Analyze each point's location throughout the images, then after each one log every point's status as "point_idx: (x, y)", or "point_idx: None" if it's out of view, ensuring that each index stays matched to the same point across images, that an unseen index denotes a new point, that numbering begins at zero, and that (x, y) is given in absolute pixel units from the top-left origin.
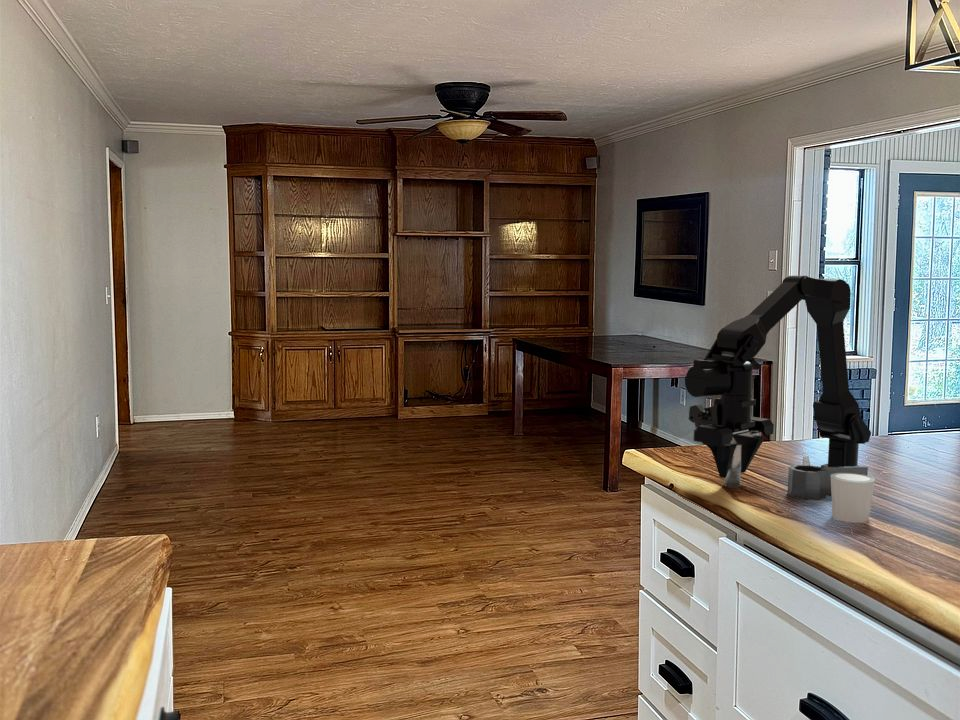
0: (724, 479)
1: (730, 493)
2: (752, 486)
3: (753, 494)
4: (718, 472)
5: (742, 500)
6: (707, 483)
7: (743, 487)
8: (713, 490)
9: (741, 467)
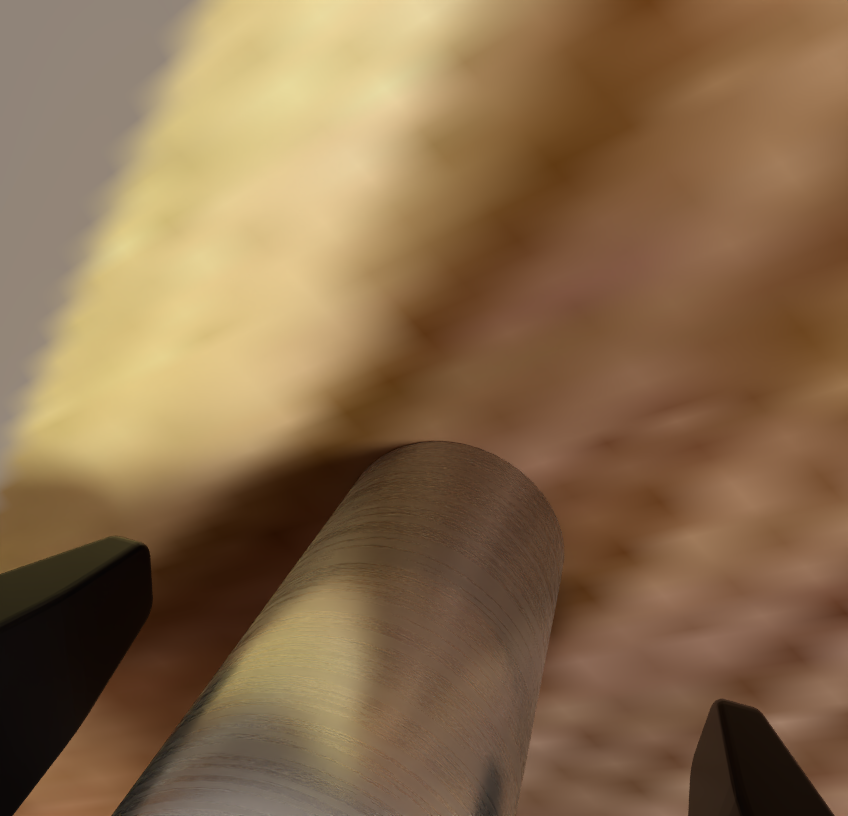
0: (344, 504)
1: None
2: (590, 749)
3: None
4: (45, 559)
5: None
6: (306, 219)
7: None
8: (62, 438)
9: (713, 799)
